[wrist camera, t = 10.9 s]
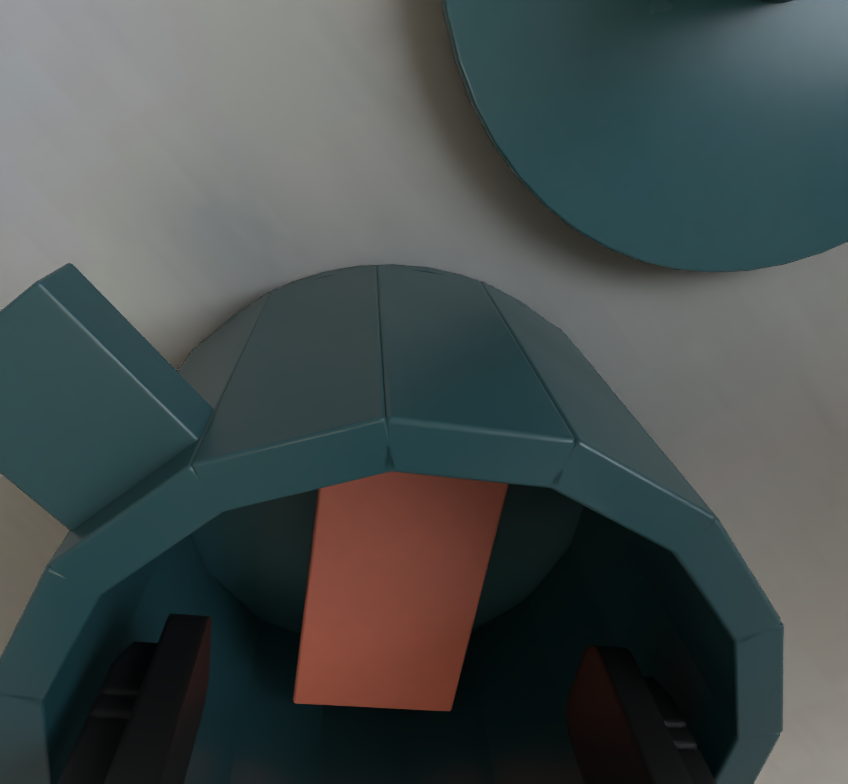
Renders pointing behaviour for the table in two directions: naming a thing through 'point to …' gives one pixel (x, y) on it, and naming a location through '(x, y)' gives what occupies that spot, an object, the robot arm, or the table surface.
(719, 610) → the pot
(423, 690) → the coral pink brick
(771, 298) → the table surface
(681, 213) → the lid
